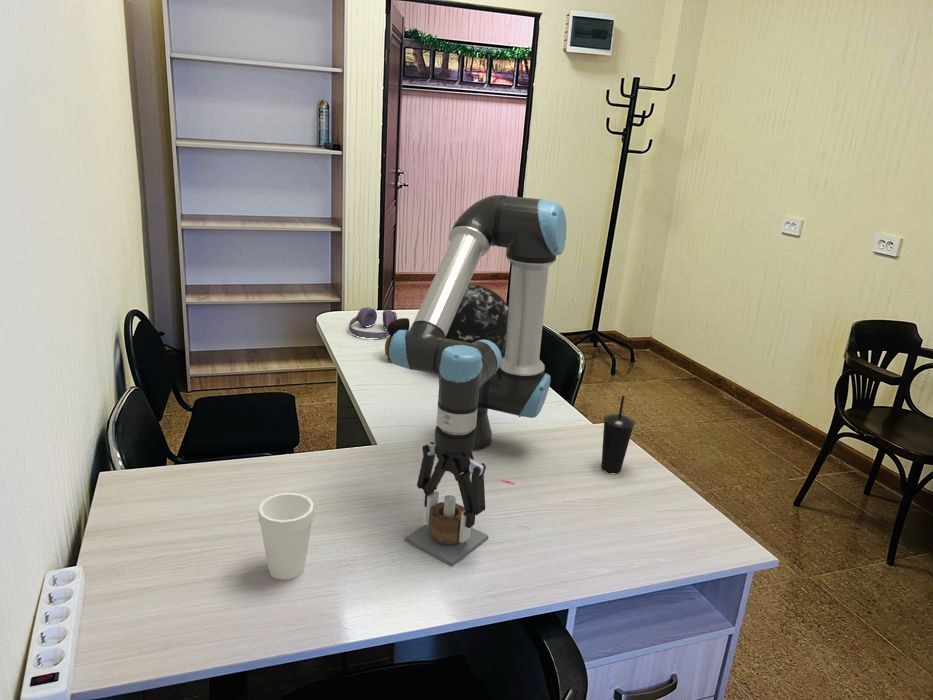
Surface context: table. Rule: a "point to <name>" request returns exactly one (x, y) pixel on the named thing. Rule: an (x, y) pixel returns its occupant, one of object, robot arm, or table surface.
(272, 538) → the foam cup
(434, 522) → the brown faceted ring
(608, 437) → the drinking cup
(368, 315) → the headphones
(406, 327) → the figurine
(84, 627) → the table surface
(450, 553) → the grey peg stand
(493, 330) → the globe
